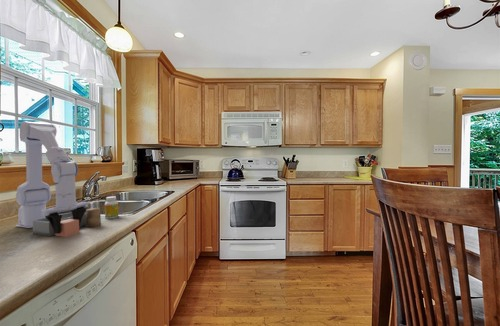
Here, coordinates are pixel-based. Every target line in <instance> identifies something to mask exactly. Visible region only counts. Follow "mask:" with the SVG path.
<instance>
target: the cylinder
mask: <svg viewBox="0 0 500 326" xmlns="http://www.w3.org/2000/svg"><path fill="white" fill-rule="evenodd" d="M86 220H87V225H86V228H88V229H90V228H91V229H93V228H98V227H100V226H101V225H102V223H101V220H102V219H101V208H100V207H93V208H88V209H87V208H86Z"/></svg>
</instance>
